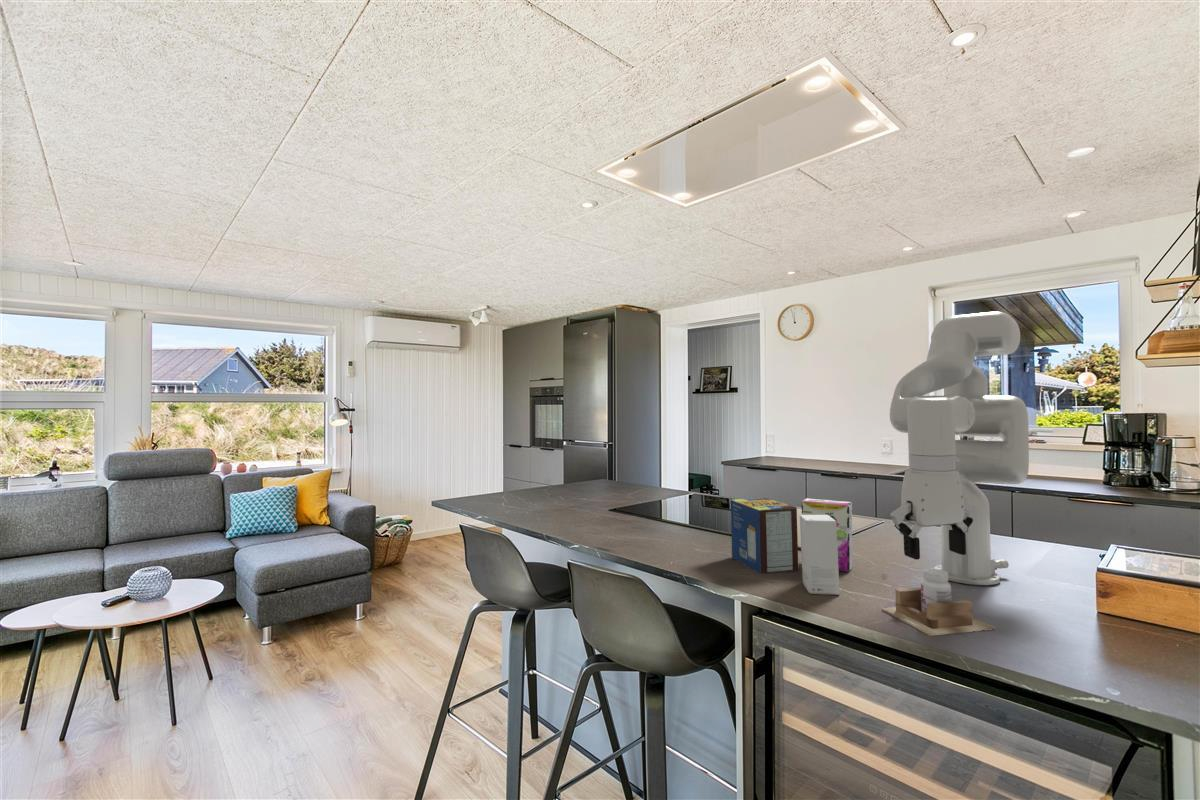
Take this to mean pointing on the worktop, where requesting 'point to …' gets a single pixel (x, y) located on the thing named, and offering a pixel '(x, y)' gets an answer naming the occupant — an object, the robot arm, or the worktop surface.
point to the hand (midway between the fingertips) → (935, 555)
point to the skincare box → (819, 554)
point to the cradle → (935, 614)
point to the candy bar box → (843, 519)
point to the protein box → (764, 535)
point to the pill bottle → (934, 587)
